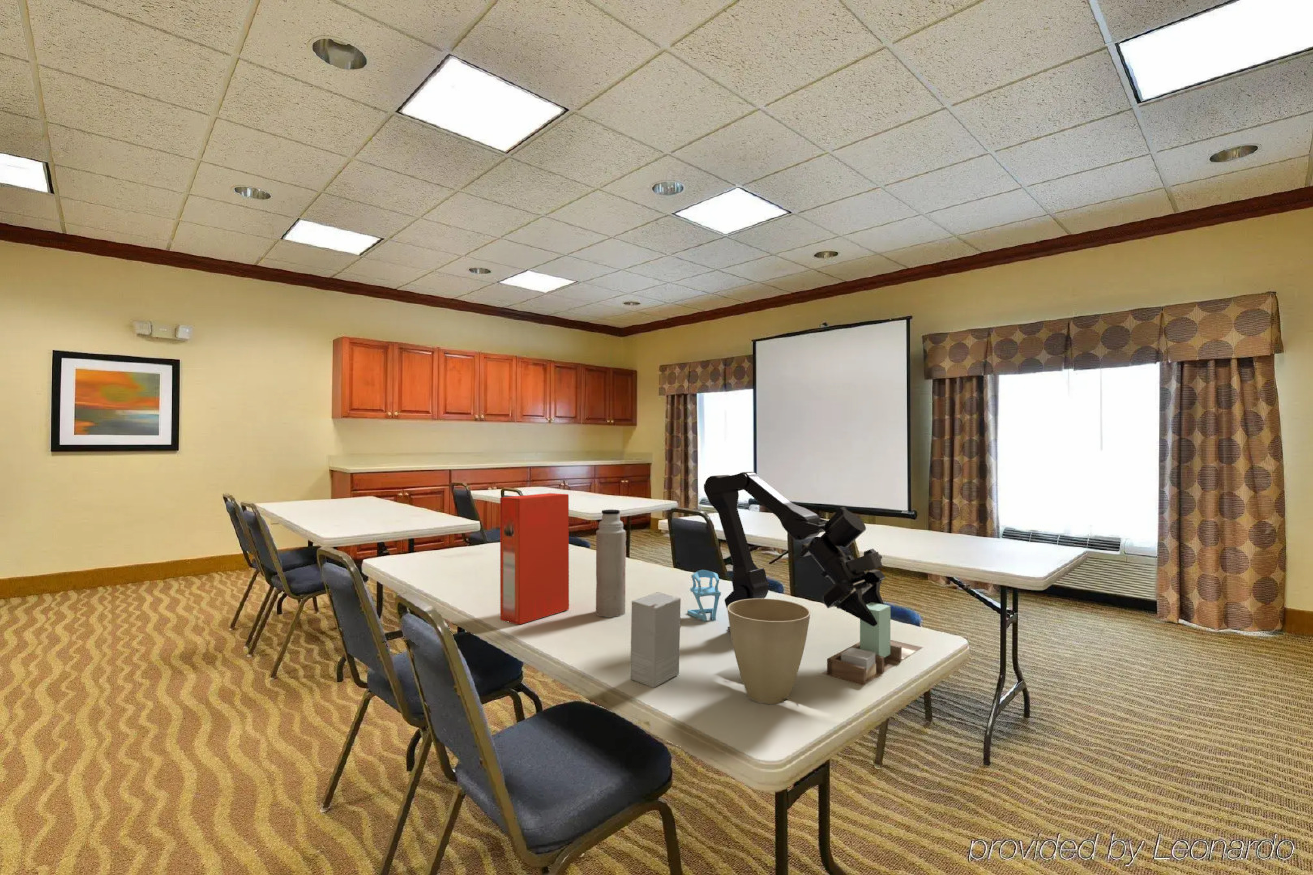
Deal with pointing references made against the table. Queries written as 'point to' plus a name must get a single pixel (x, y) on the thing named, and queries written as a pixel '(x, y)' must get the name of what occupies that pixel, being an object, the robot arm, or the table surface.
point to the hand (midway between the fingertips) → (881, 622)
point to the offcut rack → (858, 673)
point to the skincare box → (655, 638)
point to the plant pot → (768, 645)
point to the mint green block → (876, 631)
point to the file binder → (534, 556)
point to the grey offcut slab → (858, 657)
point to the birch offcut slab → (871, 671)
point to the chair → (704, 594)
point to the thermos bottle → (610, 565)
